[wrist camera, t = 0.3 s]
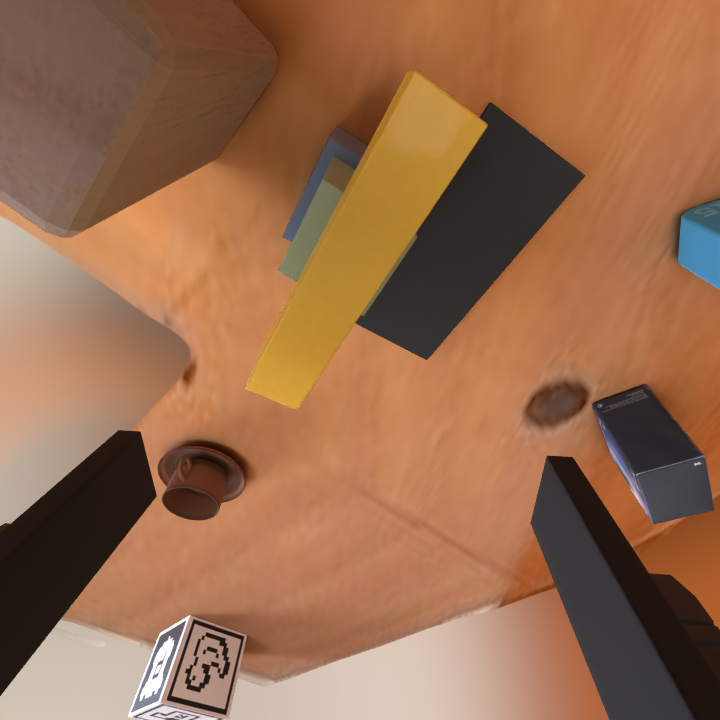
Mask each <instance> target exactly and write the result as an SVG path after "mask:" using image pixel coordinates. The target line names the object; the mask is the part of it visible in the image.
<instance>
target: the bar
mask: <svg viewBox="0 0 720 720" xmlns="http://www.w3.org/2000/svg"><path fill="white" fill-rule="evenodd" d="M487 126H488V125H487V123H486V122H484V121H483V120H482V119H480V118H479V117H478V116H476V115H475V114H474V113H472V112H471V111H470V110H468V109H467V108H466V107H465V106H463V105H462V104H461V103H459V102H458V101H457V100H455V99H454V98H453V97H451V96H450V95H449V94H447V93H446V92H445V91H443V90H442V89H441V88H439V87H438V86H437V85H435V84H434V83H433V82H431V81H430V80H429V79H428V78H426V77H425V76H424V75H422V74H421V73H420V72H418V71H408V72H407V73H406V75H405V77H404V79H403V81H402V83H401V85H400V87H399V88H398V90H397V92H396V94H395V96H394V98H393V100H392V102H391V104H390V106H389V107H388V109H387V111H386V113H385V115H384V117H383V119H382V121H381V123H380V124H379V126H378V128H377V130H376V132H375V134H374V136H373V138H372V140H371V142H370V143H369V145H368V147H367V149H366V151H365V153H364V155H363V157H362V159H361V160H360V162H359V164H358V166H357V168H356V170H355V172H354V174H353V176H352V177H351V179H350V181H349V183H348V185H347V187H346V189H345V191H344V193H343V195H342V196H341V198H340V200H339V202H338V204H337V206H336V208H335V210H334V212H333V213H332V215H331V217H330V219H329V221H328V223H327V225H326V227H325V229H324V231H323V232H322V234H321V236H320V238H319V240H318V242H317V244H316V246H315V248H314V249H313V251H312V253H311V255H310V257H309V259H308V261H307V263H306V265H305V267H304V268H303V270H302V272H301V274H300V276H299V278H298V280H297V282H296V284H295V285H294V287H293V289H292V291H291V293H290V295H289V297H288V299H287V301H286V303H285V304H284V306H283V308H282V310H281V312H280V314H279V316H278V318H277V320H276V321H275V323H274V325H273V327H272V329H271V331H270V333H269V335H268V337H267V339H266V340H265V342H264V344H263V346H262V348H261V350H260V352H259V355H258V357H257V359H256V362H255V364H254V367H253V369H252V371H251V374H250V376H249V379H248V381H247V383H246V386H245V388H246V389H248V390H251V391H253V392H255V393H258V394H260V395H262V396H265V397H267V398H269V399H272V400H274V401H276V402H279V403H281V404H283V405H286V406H288V407H290V408H293V409H295V410H297V409H298V408H299V406H300V405H301V403H302V402H303V400H304V399H305V397H306V396H307V394H308V393H309V391H310V390H311V388H312V387H313V385H314V384H315V382H316V381H317V379H318V378H319V376H320V375H321V373H322V372H323V370H324V369H325V367H326V366H327V364H328V363H329V361H330V360H331V359H332V357H333V356H334V354H335V353H336V351H337V350H338V348H339V347H340V345H341V344H342V342H343V341H344V339H345V338H346V336H347V335H348V333H349V332H350V330H351V329H352V327H353V326H354V324H355V323H356V321H357V320H358V318H359V317H360V315H361V314H362V312H363V311H364V309H365V308H366V306H367V305H368V303H369V302H370V301H371V299H372V298H373V296H374V295H375V293H376V292H377V290H378V289H379V287H380V286H381V284H382V283H383V281H384V280H385V278H386V277H387V275H388V274H389V272H390V271H391V269H392V268H393V266H394V265H395V263H396V262H397V260H398V259H399V257H400V256H401V254H402V253H403V251H404V250H405V248H406V247H407V245H408V244H409V243H410V241H411V240H412V238H413V237H414V235H415V234H416V232H417V231H418V229H419V228H420V226H421V225H422V223H423V222H424V220H425V219H426V217H427V216H428V214H429V213H430V211H431V210H432V208H433V207H434V205H435V204H436V202H437V201H438V199H439V198H440V196H441V195H442V193H443V192H444V190H445V189H446V187H447V186H448V185H449V183H450V182H451V180H452V179H453V177H454V176H455V174H456V173H457V171H458V170H459V168H460V167H461V165H462V164H463V162H464V161H465V159H466V158H467V156H468V155H469V153H470V152H471V150H472V149H473V147H474V146H475V144H476V143H477V141H478V140H479V138H480V137H481V135H482V134H483V132H484V131H485V129H486V128H487Z"/></svg>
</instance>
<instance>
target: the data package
mask: <svg viewBox="0 0 720 720" xmlns="http://www.w3.org/2000/svg"><path fill="white" fill-rule="evenodd" d="M678 263H679V264H680V265H681V266H682V267H684V268H686V269H687V270H689V271H690V272H692V273H694V274H695V275H697V276H698V277H700V278H702V279H703V280H705V281H706V282H708V283H710V284H711V285H713V286H714V287H716V288H718V289H719V290H720V199H719V200H716V201H713V202H710V203H706V204H703V205H700V206H697V207H694V208H692V209H689V210H688V211H686V212H685V213H684V214H683V215H682V217H681V227H680V239H679V251H678Z"/></svg>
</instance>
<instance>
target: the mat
mask: <svg viewBox="0 0 720 720" xmlns="http://www.w3.org/2000/svg"><path fill="white" fill-rule="evenodd" d="M480 119H482V120H483V121H484V122H486V123H487V125H488V126H487V128H486V129H485V131H484V132H483V134H482V135H481V137H480V138H479V140H478V141H477V143H476V144H475V146H474V147H473V149H472V150H471V152H470V153H469V155H468V156H467V158H466V159H465V161H464V162H463V164H462V165H461V167H460V168H459V170H458V171H457V173H456V174H455V176H454V177H453V179H452V180H451V182H450V183H449V185H448V186H447V187H446V189H445V190H444V192H443V193H442V195H441V196H440V198H439V199H438V201H437V202H436V204H435V205H434V207H433V208H432V210H431V211H430V213H429V214H428V216H427V217H426V219H425V220H424V222H423V223H422V225H421V226H420V228H419V229H418V231H417V232H416V234H417V239H416V240H415V242H414V243H413V245H412V246H411V248H410V249H409V250H408V252H407V253H406V255H405V256H404V258H403V259H402V261H401V262H400V264H399V265H398V267H397V268H396V270H395V271H394V273H393V274H392V276H391V277H390V278H389V280H388V281H387V283H386V284H385V286H384V287H383V289H382V290H381V292H380V293H379V295H378V296H377V298H376V299H375V301H374V302H373V303H372V305H371V306H370V308H369V309H368V311H367V312H366V314H365V315H364V316H362V315H360V317H359V318H358V320H357V321H356V324H358V325H360V326H362V327H364V328H366V329H368V330H370V331H371V332H373V333H375V334H377V335H379V336H381V337H383V338H385V339H387V340H389V341H391V342H393V343H395V344H397V345H399V346H401V347H402V348H404V349H406V350H408V351H410V352H412V353H414V354H416V355H418V356H420V357H422V358H424V359H426V360H427V359H428V358H429V357H430V356H431V355H432V354H433V352H434V351H435V350H436V349H437V348H438V347H439V345H440V344H441V343H442V342H443V341H444V340H445V338H446V337H447V336H448V335H449V334H450V333H451V331H452V330H453V329H454V328H455V327H456V326H457V324H458V323H459V322H460V321H461V320H462V319H463V317H464V316H465V315H466V314H467V313H468V312H469V310H470V309H471V308H472V307H473V306H474V305H475V303H476V302H477V301H478V300H479V299H480V298H481V296H482V295H483V294H484V293H485V292H486V291H487V289H488V288H489V287H490V286H491V285H492V284H493V282H494V281H495V280H496V279H497V278H498V277H499V275H500V274H501V273H502V272H503V271H504V270H505V268H506V267H507V266H508V265H509V264H510V263H511V261H512V260H513V259H514V258H515V257H516V256H517V254H518V253H519V252H520V251H521V250H522V249H523V247H524V246H525V245H526V244H527V243H528V242H529V240H530V239H531V238H532V237H533V236H534V235H535V233H536V232H537V231H538V230H539V229H540V228H541V226H542V225H543V224H544V223H545V222H546V221H547V219H548V218H549V217H550V216H551V215H552V214H553V212H554V211H555V210H556V209H557V208H558V207H559V205H560V204H561V203H562V202H563V201H564V200H565V198H566V197H567V196H568V195H569V194H570V193H571V191H572V190H573V189H574V188H575V187H576V186H577V185H578V183H579V182H580V181H581V180H582V179H583V178H584V176H585V175H583V174H582V173H581V172H580V171H578V170H577V169H576V168H574V167H573V166H572V165H571V164H569V163H568V162H567V161H565V160H564V159H563V158H562V157H560V156H559V155H558V154H556V153H555V152H554V151H553V150H551V149H550V148H549V147H547V146H546V145H545V144H544V143H542V142H541V141H540V140H538V139H537V138H536V137H535V136H533V135H532V134H531V133H529V132H528V131H527V130H526V129H524V128H523V127H522V126H520V125H519V124H518V123H517V122H515V121H514V120H513V119H511V118H510V117H509V116H508V115H506V114H505V113H504V112H502V111H501V110H500V109H499V108H497V107H496V106H495V105H494V104H492V103H489V105H488V106H487V108H486V109H485V111H484V112H483V114H482V115H481V117H480Z"/></svg>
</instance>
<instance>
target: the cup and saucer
mask: <svg viewBox="0 0 720 720" xmlns="http://www.w3.org/2000/svg"><path fill="white" fill-rule="evenodd" d="M158 474H159V476H160V478H161V480H162V481H163V483H164V484H165V485H166V486H167V488H166V490H165V491H164V493H163V495H162V502H163V505H164V506H165V507H166V508H167V509H168V510H169V511H170V512H171V513H173V514H175V515H177V516H179V517H182V518H185V519H189V520H207V519H210V518H212V517H214V516H215V515H216V514H217V513H218V511H219V508H220V505H221V503H223V502H228V501H231V500H233V499H235V498H237V497H238V496H239V495H240V494H241V493H242V492H243V490H244V488H245V475H244V472H243V471H242V469H241V468H240V466H239V465H238V464H237V463H236V462H235V461H234V460H233V459H232V458H230V457H229V456H227V455H226V454H224V453H222V452H220V451H217V450H214V449H211V448H207V447H202V446H186V447H180V448H176V449H173V450H171V451H169V452H168V453H166V454H165V455H164V456H163V457H162V458H161V460H160V461H159V464H158Z"/></svg>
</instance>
